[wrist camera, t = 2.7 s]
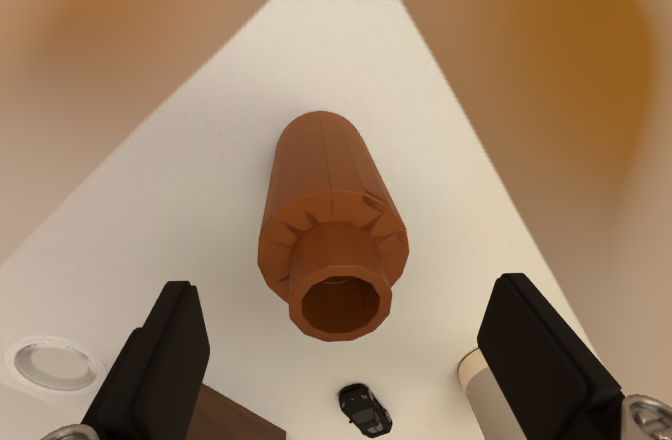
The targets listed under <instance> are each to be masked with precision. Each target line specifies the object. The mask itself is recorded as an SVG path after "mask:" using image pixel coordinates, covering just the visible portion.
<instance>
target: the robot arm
mask: <svg viewBox="0 0 672 440" xmlns="http://www.w3.org/2000/svg"><path fill="white" fill-rule="evenodd" d="M477 343H478V347H479V349H480V351H481V353H482V355H483V357H484V359H485V360H486V362H487V364H488V366H489V368H490V370H491V372H492V374H493V376H494V378H495V380H496V381H497V383H498V385H499V387H500V389H501V391H502V393H503V395H504V397H505V399H506V401H507V402H508V404H509V406H510V408H511V410H512V412H513V414H514V416H515V418H516V420H517V422H518V424H519V425H520V427H521V429H522V431H523V433H524V435H525V437H526V439H527V440H672V408H671V407H670V406H668V405H666V404H664V403H662V402H661V401H659V400H656V399H654V398H651V397H648V396H645V395H638V394H635V395H629V396H627V397H625V396H624V395H623V393H622V392H621V391H620V390H621V386H620V385H619V384H618V383H617V382H616V380H615V379H614V378H613V377H612V376H611V374H610V373H609V372H608V371H607V370H606V369H605V367H604V366H603V365H602V364H601V363H600V362H599V360H598V359H597V358H596V357H595V356H594V354H593V353H592V352H591V351H590V350H589V349H588V347H587V346H586V345H585V344H584V343H583V342H582V340H581V339H580V338H579V337H578V336H577V335H576V333H575V332H574V331H573V330H572V329H571V328H570V326H569V325H568V324H567V323H566V322H565V321H564V319H563V318H562V317H561V316H560V315H559V314H558V312H557V311H556V310H555V309H554V308H553V307H552V305H551V304H550V303H549V302H548V301H547V299H546V298H545V297H544V296H543V295H542V294H541V292H540V291H539V290H538V289H537V288H536V287H535V285H534V284H533V283H532V282H531V281H530V280H529V278H528V277H527V276H526V275H525V274H523V273H505V274H502V275H501V277H500V278H498V279H497V280H496V282H495V284H494V288H493V291H492V294H491V297H490V300H489V303H488V306H487V309H486V312H485V315H484V318H483V321H482V324H481V327H480V330H479V333H478V336H477ZM209 356H210V345H209V341H208V336H207V332H206V327H205V323H204V318H203V314H202V309H201V305H200V300H199V296H198V291H197V288H196V286H191V284H190V282H189V281H168V282H167V283H166V284H165V286H164V288H163V290H162V292H161V293H160V295H159V297H158V299H157V301H156V303H155V305H154V307H153V308H152V310H151V312H150V314H149V316H148V318H147V320H146V321H145V323H144V325H143V327H140V328H136V329H135V330H133V332H132V333H131V334H130V336H129V338H128V340H127V341H126V343H125V345H124V347H123V348H122V350H121V352H120V354H119V356H118V357H117V359H116V361H115V363H114V365H113V366H112V368H111V370H110V372H109V373H108V375H107V377H106V379H105V381H104V382H103V384H102V386H101V388H100V390H99V391H98V393H97V395H96V397H95V398H94V400H93V402H92V404H91V406H90V407H89V409H88V411H87V413H86V414H85V416H84V418H83V420H82V422H81V423H80V424H73V425H69V426H65V427H62V428H59V429H57V430H55V431H53V432H51V433H49V434H48V435H46V436H45V437H44V438H42V439H41V440H186V436H187V433H188V429H189V426H190V423H191V419H192V416H193V412H194V409H195V405H196V402H197V398H198V395H199V391H200V388H201V384H202V381H203V378H204V374H205V371H206V367H207V364H208V360H209Z"/></svg>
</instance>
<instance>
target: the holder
mask: <svg viewBox="0 0 672 440" xmlns="http://www.w3.org/2000/svg"><path fill="white" fill-rule="evenodd" d="M186 440H286V432H285V431H284V430H282V429H280V428H278V427H277V426H275V425H273V424H271V423H270V422H268V421H266V420H264V419H263V418H261V417H259V416H258V415H256V414H254V413H252V412H251V411H249V410H247V409H245V408H244V407H242V406H240V405H238V404H237V403H235V402H233V401H231V400H230V399H228V398H226V397H225V396H223V395H221V394H219V393H218V392H216V391H214V390H212V389H211V388H209V387H207V386H205V385H204V384H201V388H200V391H199V395H198V398H197V402H196V405H195V409H194V412H193V416H192V419H191V423H190V426H189V429H188V433H187V436H186Z"/></svg>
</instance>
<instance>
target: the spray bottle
mask: <svg viewBox="0 0 672 440" xmlns="http://www.w3.org/2000/svg"><path fill="white" fill-rule="evenodd" d="M458 373H459V380H460V382H461V384H462V386H463V389H464V391H465V393H466V396H467V398H468V400H469V403H470V405H471V407H472V410H473V412H474V414H475V417H476V419H477V421H478V424H479V426H480V428H481V430H482V433H483V435H484V437H485V440H527V439H526V437H525V435H524V433H523V431H522V429H521V427H520V425H519V424H518V422H517V420H516V418H515V416H514V414H513V412H512V410H511V408H510V406H509V404H508V402H507V401H506V399H505V397H504V395H503V393H502V391H501V389H500V387H499V385H498V383H497V381H496V380H495V378H494V376H493V374H492V372H491V370H490V368H489V366H488V364H487V362H486V360H485V359H484V357H483V355H482V353H481V351H480V349H477V350H475V351H473V352H472V353H471V354H469V355H468V356H467V357H466V358H465V359H464V360H463V361H462V363H461V365H460V367H459V371H458Z"/></svg>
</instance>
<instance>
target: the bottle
mask: <svg viewBox="0 0 672 440" xmlns="http://www.w3.org/2000/svg"><path fill="white" fill-rule="evenodd" d="M408 255H409V245H408V239H407V232H406V228H405V225H404V223H403V221H402V219H401V217H400V215H399V213H398V211H397V209H396V207H395V205H394V203H393V201H392V198H391V196H390V194H389V192H388V190H387V188H386V186H385V184H384V182H383V180H382V178H381V176H380V174H379V172H378V170H377V167H376V165H375V163H374V161H373V159H372V157H371V155H370V153H369V151H368V149H367V147H366V145H365V143H364V141H363V139H362V137H361V136H360V134H359V132H358V131H357V129H356V128H355V127H354V126H353V124H351V123H350V122H349V121H348V120H347V119H345V118H344V117H342V116H340V115H337V114H335V113H331V112H325V111H317V112H310V113H307V114H304V115H302V116H300V117H298V118H296V119H295V120H293V121H292V122H291V123H290V124H289V125H288V126H287V127H286V128H285V130H284V131H283V133H282V135H281V137H280V139H279V142H278V143H277V148H276V153H275V158H274V163H273V169H272V174H271V179H270V184H269V189H268V195H267V200H266V205H265V210H264V215H263V221H262V226H261V231H260V236H259V245H258V261H257V263H258V266H259V268H260V271H261V273H262V275H263V277H264V279H265V282H266V284H267V285H268V287H269V288H270V289H271V290H273V291H274V292H275V293H276V294H277V295H278V296H280V297H281V298H282V299H283V300H284V301H285V302H287V303H289V316H290V319H291V320H292V321H293V322H294V323H295V324H296V326H297V327H298V328H299V329H300V330H301V331H302V332H303V333H304V334H305V335H308V336H311V337H314V338H317V339H320V340H322V341H327V342H334V341H351V340H354V339H357V338H359V337H361V336H364V335H366V334H368V333H370V332H373V331H374V330H376V328H377V327H378V326H379V325H380V324H381V323H382V322H383V321H384V320H385V318H386V317H387V316H388V315H389V313H390V307H391V300H392V291H391V287H392V286H393V285H394V284H395V282H396V281H397V280H398V279H399V278H400V277H401V275H402V273H403V270H404V267H405V264H406V261H407V258H408Z"/></svg>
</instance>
